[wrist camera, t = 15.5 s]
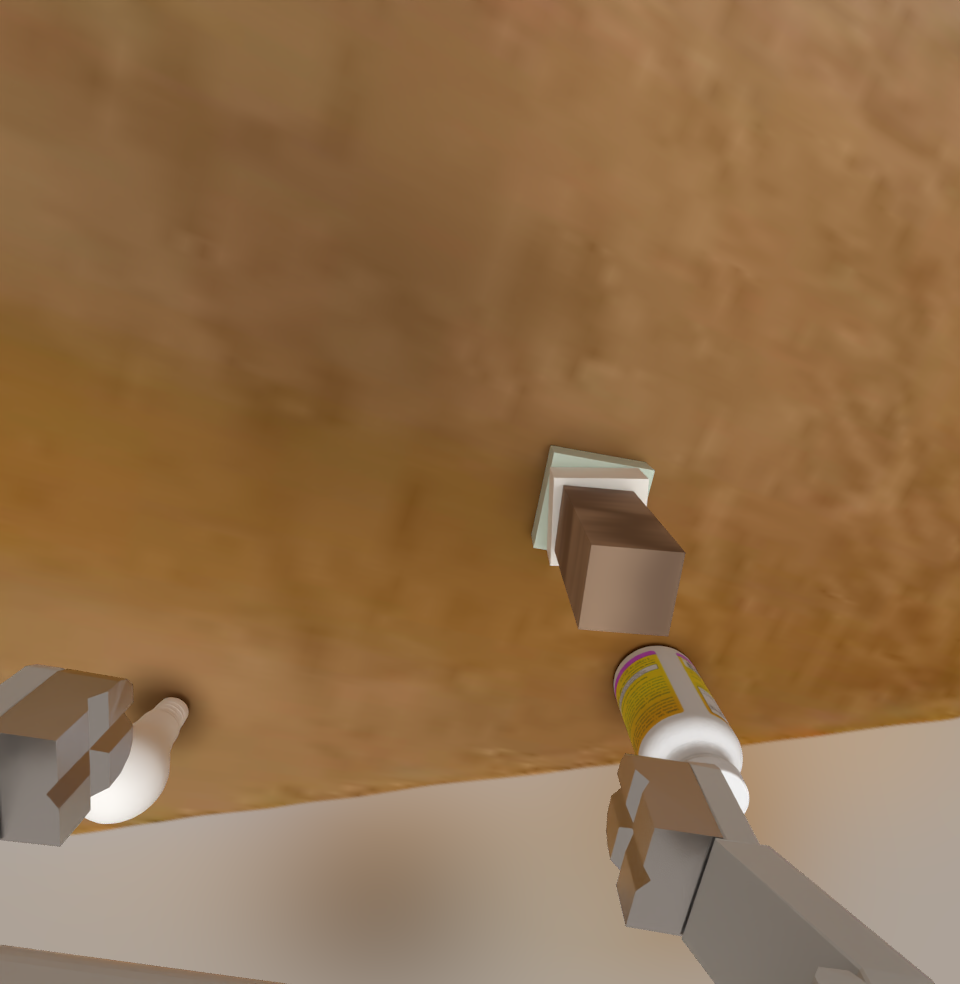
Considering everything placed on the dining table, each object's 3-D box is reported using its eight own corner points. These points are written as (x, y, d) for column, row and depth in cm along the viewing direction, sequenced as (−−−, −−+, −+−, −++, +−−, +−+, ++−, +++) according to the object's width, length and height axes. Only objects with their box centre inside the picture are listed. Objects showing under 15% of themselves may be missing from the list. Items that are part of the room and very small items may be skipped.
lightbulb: (166, 658, 48) (74, 751, 38) (229, 700, 49) (157, 803, 39) (127, 708, 50) (29, 812, 39) (190, 748, 51) (109, 860, 40)
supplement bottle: (603, 707, 49) (641, 837, 36) (622, 635, 47) (668, 746, 35) (683, 720, 49) (747, 854, 37) (705, 649, 47) (781, 764, 35)
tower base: (531, 533, 45) (533, 547, 42) (550, 444, 43) (554, 452, 40) (621, 549, 45) (630, 564, 43) (644, 460, 44) (654, 470, 41)
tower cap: (546, 549, 42) (550, 565, 39) (549, 466, 41) (554, 477, 38) (631, 550, 42) (641, 567, 39) (638, 468, 41) (648, 479, 38)
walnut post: (554, 550, 39) (578, 629, 29) (563, 485, 38) (591, 544, 28) (622, 556, 39) (668, 636, 30) (633, 491, 38) (685, 552, 28)
